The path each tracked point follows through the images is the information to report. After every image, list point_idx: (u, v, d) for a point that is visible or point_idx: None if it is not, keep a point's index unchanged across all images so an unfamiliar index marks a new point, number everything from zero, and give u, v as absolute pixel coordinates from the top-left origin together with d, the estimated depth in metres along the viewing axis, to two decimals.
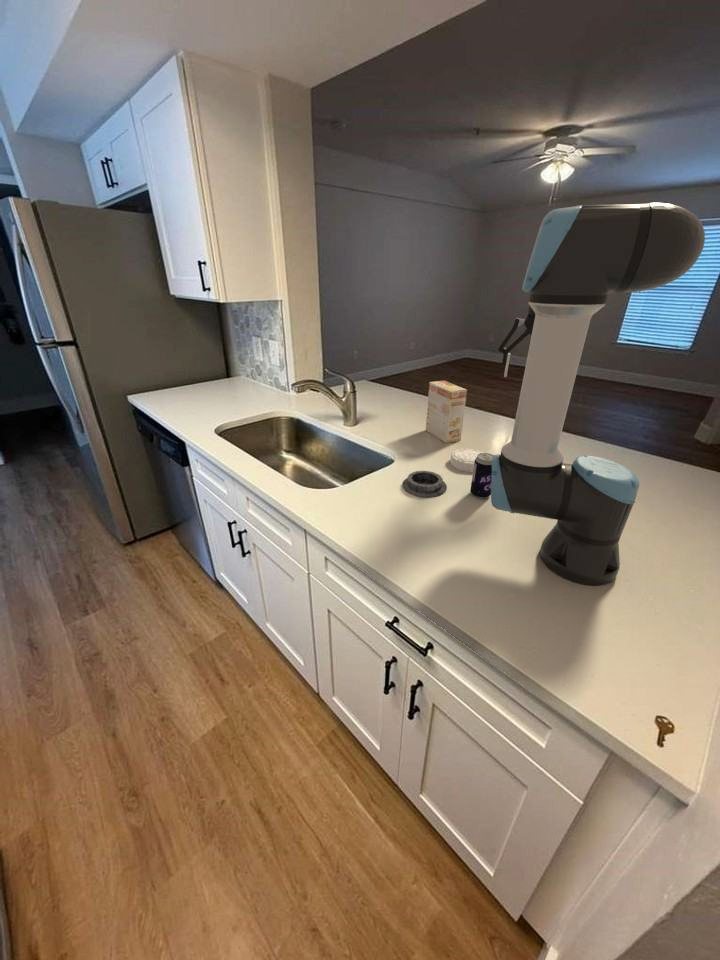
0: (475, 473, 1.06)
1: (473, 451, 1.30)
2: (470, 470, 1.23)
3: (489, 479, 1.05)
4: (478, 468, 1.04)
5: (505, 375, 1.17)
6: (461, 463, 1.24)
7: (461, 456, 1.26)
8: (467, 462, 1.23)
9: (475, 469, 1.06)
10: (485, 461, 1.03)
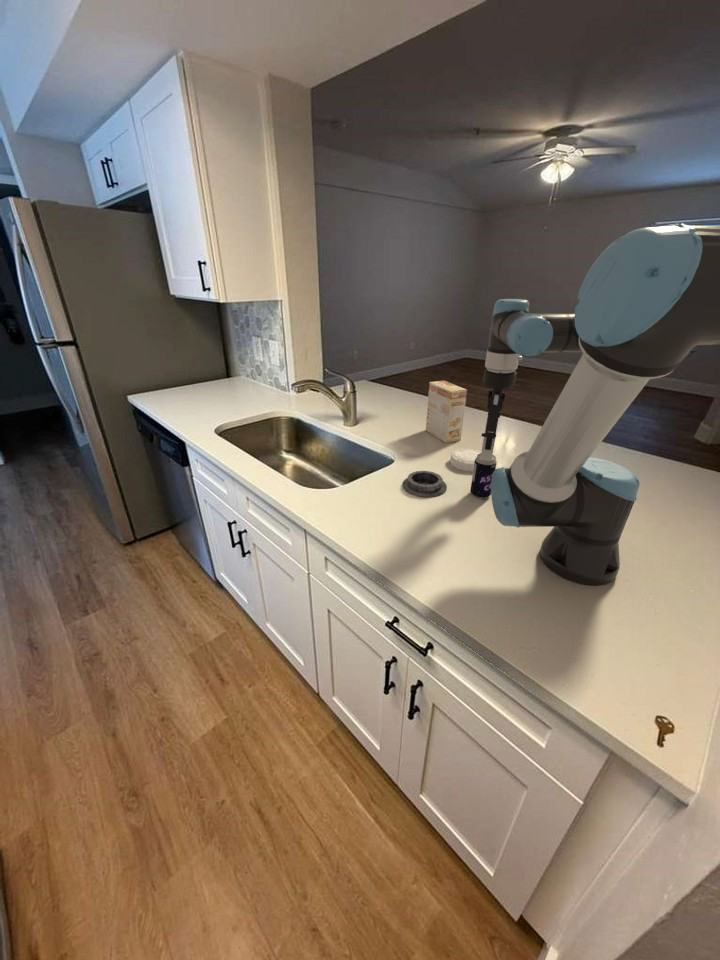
0: (475, 473, 1.06)
1: (473, 451, 1.30)
2: (470, 470, 1.23)
3: (489, 479, 1.05)
4: (478, 468, 1.04)
5: None
6: (461, 463, 1.24)
7: (461, 456, 1.26)
8: (467, 462, 1.23)
9: (475, 469, 1.06)
10: (485, 461, 1.03)
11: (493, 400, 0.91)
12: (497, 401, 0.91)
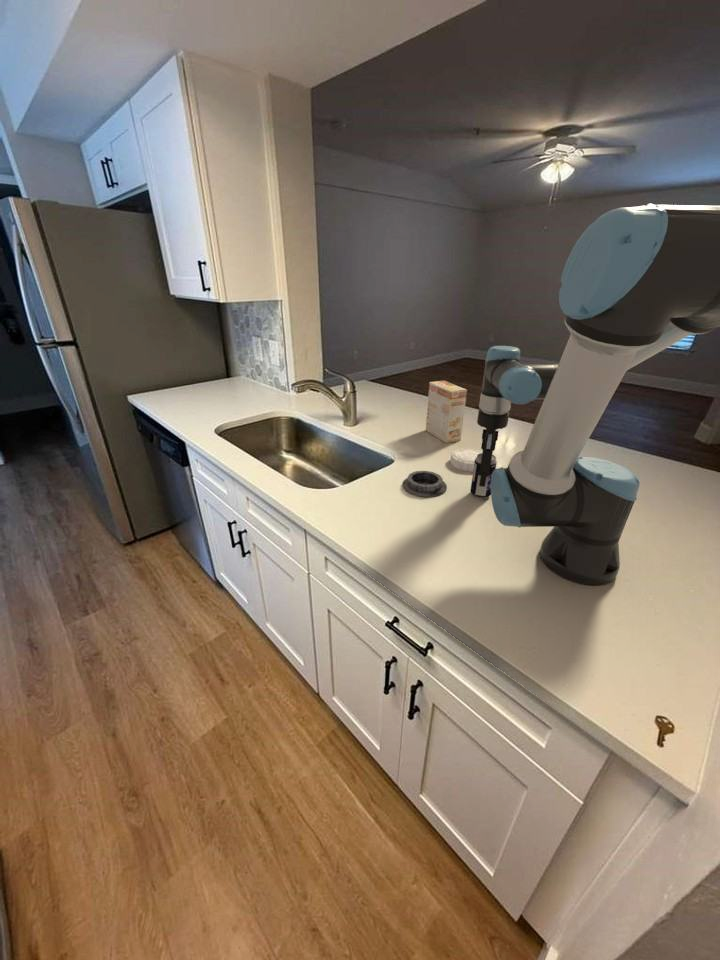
0: (475, 473, 1.06)
1: (473, 451, 1.30)
2: (470, 470, 1.23)
3: (489, 479, 1.05)
4: (479, 468, 1.05)
5: None
6: (461, 463, 1.24)
7: (461, 456, 1.26)
8: (467, 462, 1.23)
9: (475, 469, 1.06)
10: None
11: (486, 446, 0.97)
12: (490, 446, 0.97)
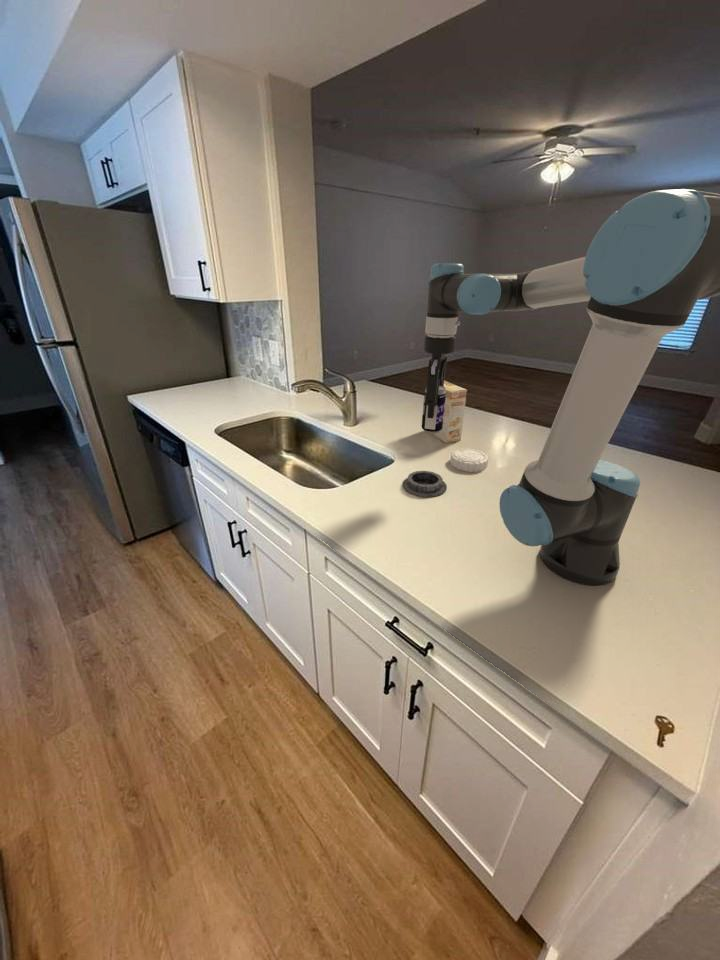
0: (424, 405, 1.03)
1: (473, 451, 1.30)
2: (470, 470, 1.23)
3: (438, 411, 1.02)
4: None
5: None
6: (461, 463, 1.24)
7: (461, 456, 1.26)
8: (467, 462, 1.23)
9: (424, 401, 1.02)
10: None
11: (430, 371, 0.93)
12: (434, 371, 0.93)
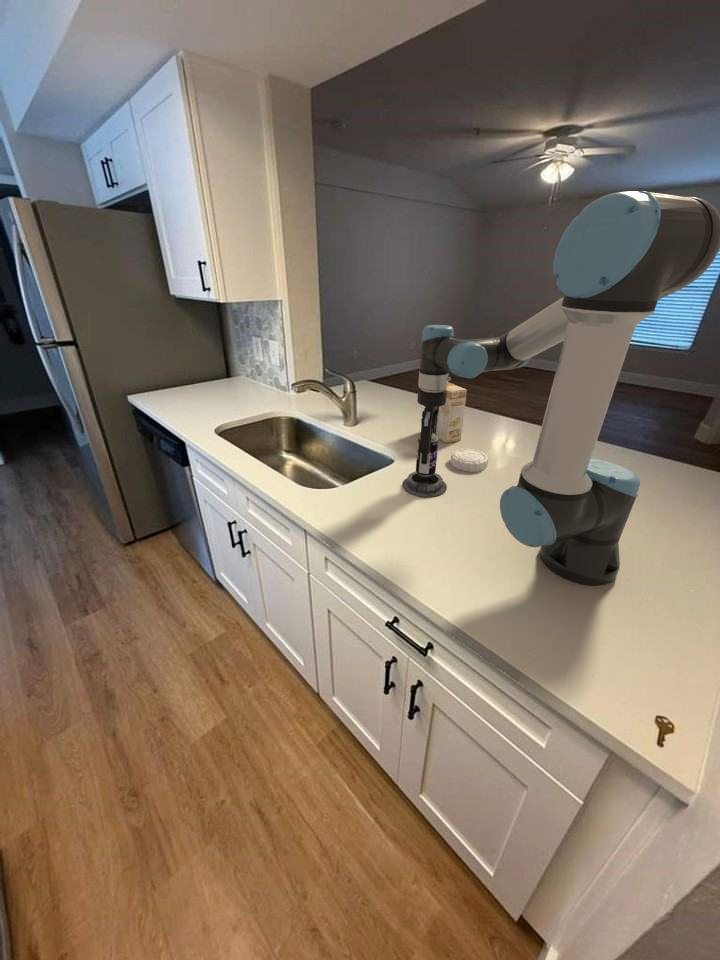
0: None
1: (473, 451, 1.30)
2: (470, 470, 1.23)
3: (431, 457, 1.08)
4: None
5: None
6: (461, 463, 1.24)
7: (461, 456, 1.26)
8: (467, 462, 1.23)
9: (418, 447, 1.09)
10: None
11: (423, 423, 1.00)
12: (427, 424, 0.99)
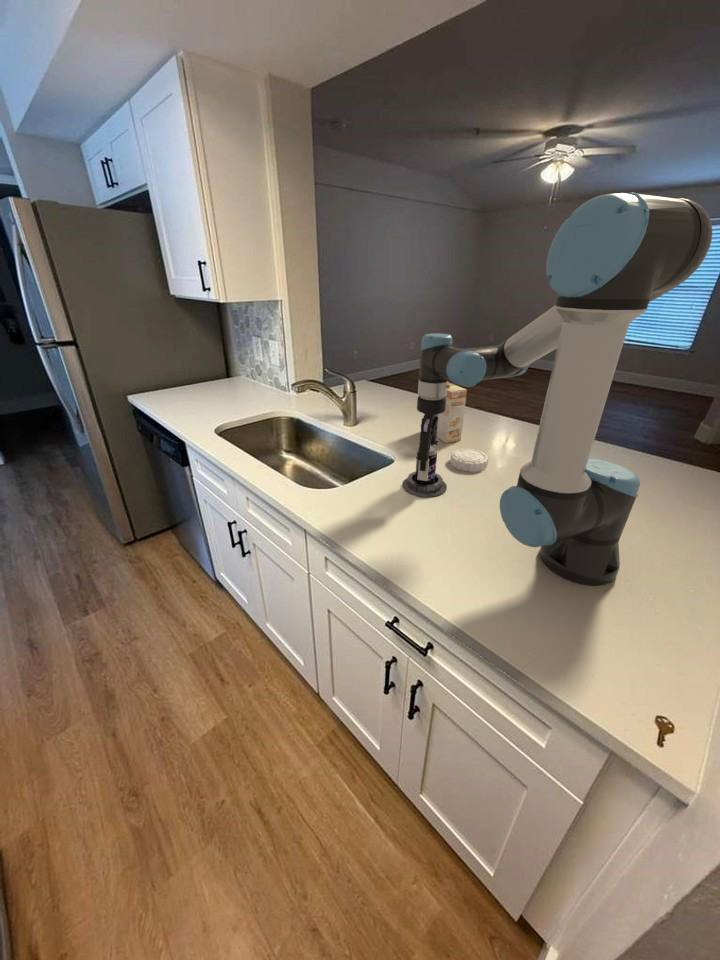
0: (417, 464, 1.10)
1: (473, 451, 1.30)
2: (470, 470, 1.23)
3: (430, 469, 1.09)
4: None
5: None
6: (461, 463, 1.24)
7: (461, 456, 1.26)
8: (467, 462, 1.23)
9: (417, 460, 1.10)
10: None
11: (423, 428, 1.00)
12: (426, 429, 1.00)
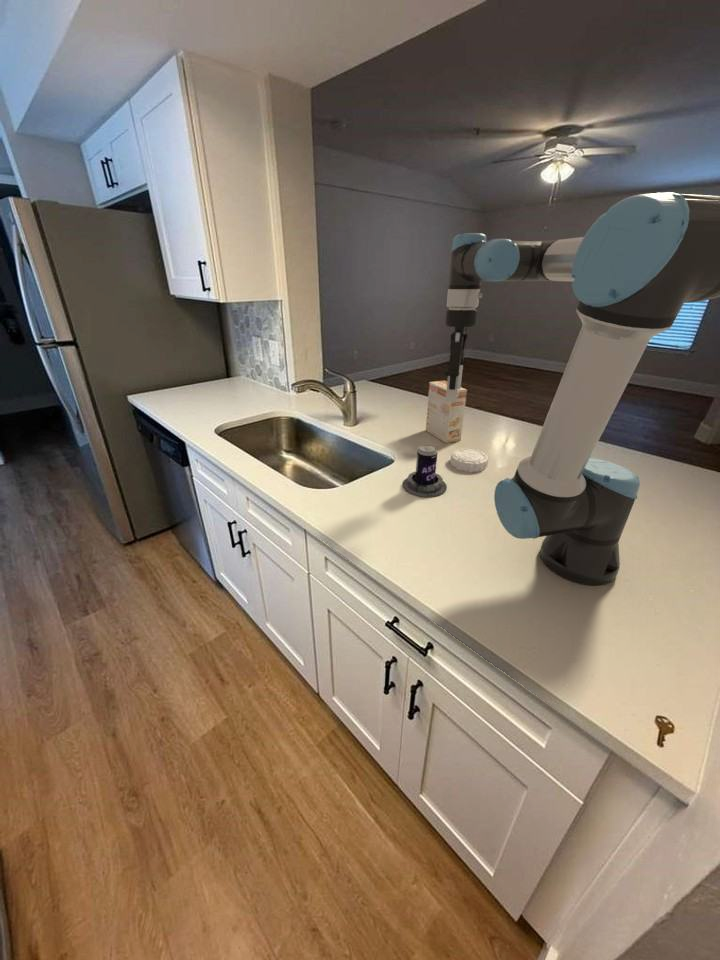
0: (417, 464, 1.10)
1: (473, 451, 1.30)
2: (470, 470, 1.23)
3: (430, 469, 1.09)
4: (420, 459, 1.09)
5: None
6: (461, 463, 1.24)
7: (461, 456, 1.26)
8: (467, 462, 1.23)
9: (417, 460, 1.10)
10: (425, 452, 1.07)
11: (455, 337, 0.92)
12: (459, 337, 0.91)
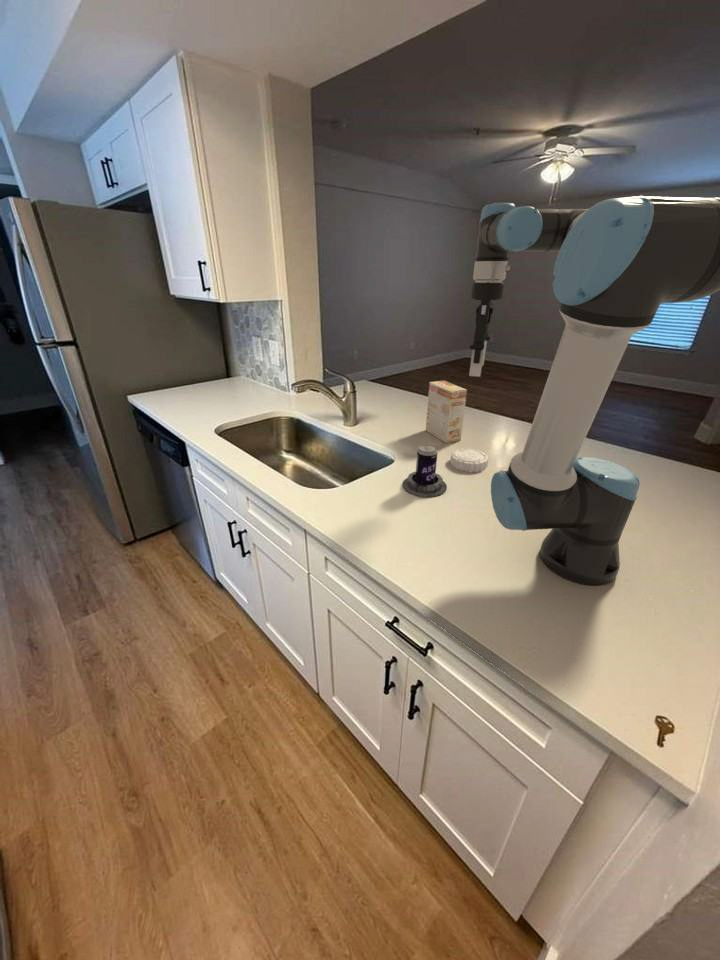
0: (417, 464, 1.10)
1: (473, 451, 1.30)
2: (470, 470, 1.23)
3: (430, 469, 1.09)
4: (420, 459, 1.09)
5: None
6: (461, 463, 1.24)
7: (461, 456, 1.26)
8: (467, 462, 1.23)
9: (417, 460, 1.10)
10: (425, 452, 1.07)
11: (481, 309, 0.92)
12: (485, 310, 0.91)
